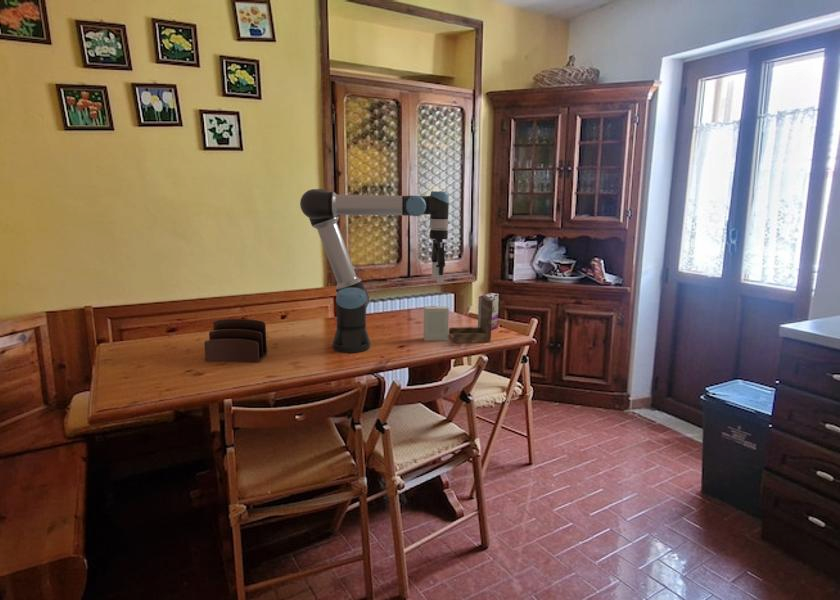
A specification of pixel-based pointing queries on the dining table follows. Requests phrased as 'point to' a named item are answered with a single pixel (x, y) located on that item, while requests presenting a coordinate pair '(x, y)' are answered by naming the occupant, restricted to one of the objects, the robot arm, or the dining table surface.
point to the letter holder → (236, 341)
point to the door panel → (436, 323)
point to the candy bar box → (495, 300)
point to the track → (476, 332)
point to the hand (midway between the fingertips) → (437, 280)
